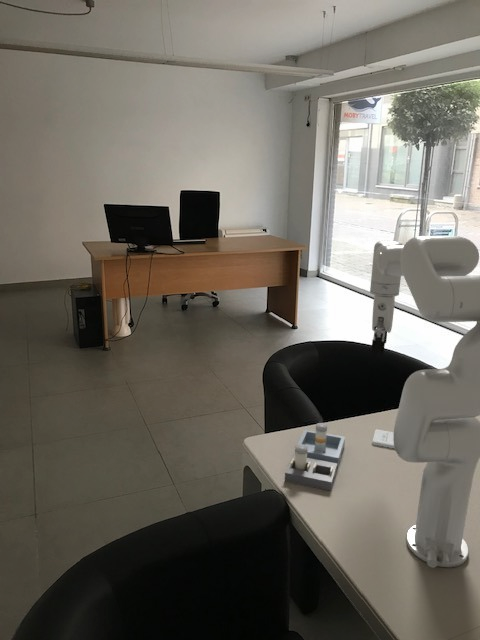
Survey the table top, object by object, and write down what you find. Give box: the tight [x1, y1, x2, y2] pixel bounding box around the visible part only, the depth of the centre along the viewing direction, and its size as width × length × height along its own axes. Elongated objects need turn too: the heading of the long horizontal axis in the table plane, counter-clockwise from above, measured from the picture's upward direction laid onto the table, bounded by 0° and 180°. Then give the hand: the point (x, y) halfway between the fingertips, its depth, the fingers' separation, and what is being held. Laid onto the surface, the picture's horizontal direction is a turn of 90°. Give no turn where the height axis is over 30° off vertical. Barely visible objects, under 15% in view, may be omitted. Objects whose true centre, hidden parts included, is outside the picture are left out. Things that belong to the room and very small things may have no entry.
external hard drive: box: [371, 428, 395, 450], centre depth 156 cm, size 2×8×12 cm
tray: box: [297, 429, 346, 469], centre depth 150 cm, size 12×12×3 cm
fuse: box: [294, 443, 308, 471], centre depth 138 cm, size 3×3×8 cm
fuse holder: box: [284, 454, 338, 492], centre depth 138 cm, size 9×12×4 cm
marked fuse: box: [314, 422, 328, 453], centre depth 149 cm, size 3×3×8 cm
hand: (378, 348), depth 145 cm, fingers open, 9 cm apart
